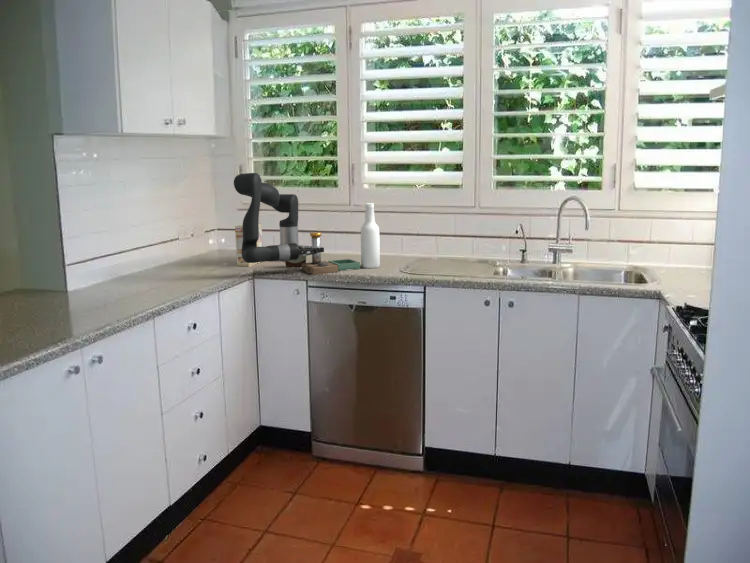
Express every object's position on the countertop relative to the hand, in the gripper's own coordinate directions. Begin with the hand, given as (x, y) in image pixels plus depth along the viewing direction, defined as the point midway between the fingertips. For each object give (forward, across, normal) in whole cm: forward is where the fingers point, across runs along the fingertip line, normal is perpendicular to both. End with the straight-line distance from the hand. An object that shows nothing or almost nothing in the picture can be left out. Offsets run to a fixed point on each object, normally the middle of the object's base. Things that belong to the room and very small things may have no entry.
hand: (321, 249), depth 312 cm
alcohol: (+22, -6, +10) cm, 25 cm away
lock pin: (-3, 0, +10) cm, 10 cm away
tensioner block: (-3, -4, +10) cm, 10 cm away
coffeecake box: (-25, +33, +10) cm, 42 cm away
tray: (+10, -2, +10) cm, 14 cm away
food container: (-8, +13, +10) cm, 18 cm away
